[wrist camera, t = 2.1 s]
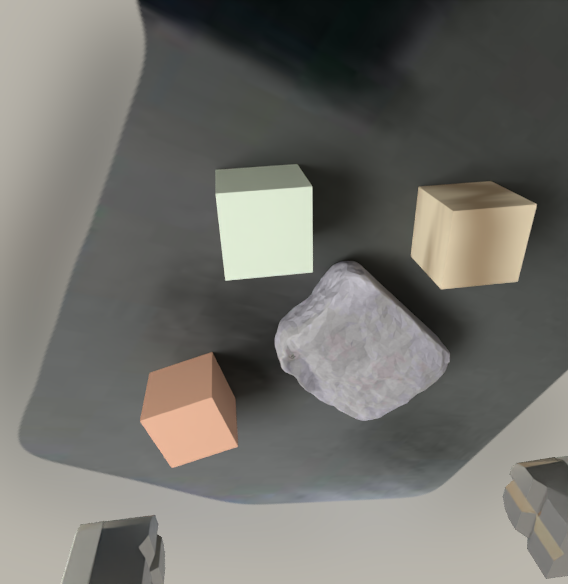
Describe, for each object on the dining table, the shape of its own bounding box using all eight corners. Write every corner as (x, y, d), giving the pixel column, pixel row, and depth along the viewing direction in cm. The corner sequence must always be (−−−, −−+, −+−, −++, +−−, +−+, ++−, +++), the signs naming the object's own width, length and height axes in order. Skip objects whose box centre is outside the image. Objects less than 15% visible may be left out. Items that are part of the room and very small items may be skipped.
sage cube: (297, 163, 27) (312, 186, 23) (298, 239, 30) (312, 272, 26) (215, 169, 27) (215, 193, 23) (223, 245, 29) (225, 280, 25)
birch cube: (490, 180, 30) (536, 204, 25) (477, 249, 32) (517, 281, 28) (418, 186, 29) (453, 211, 25) (410, 255, 32) (441, 289, 27)
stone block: (354, 391, 40) (450, 332, 35) (360, 437, 36) (469, 377, 32) (255, 319, 35) (350, 240, 31) (249, 362, 31) (358, 279, 27)
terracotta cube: (212, 351, 33) (211, 397, 29) (235, 397, 36) (237, 446, 32) (149, 372, 34) (139, 420, 29) (176, 417, 36) (171, 468, 32)
